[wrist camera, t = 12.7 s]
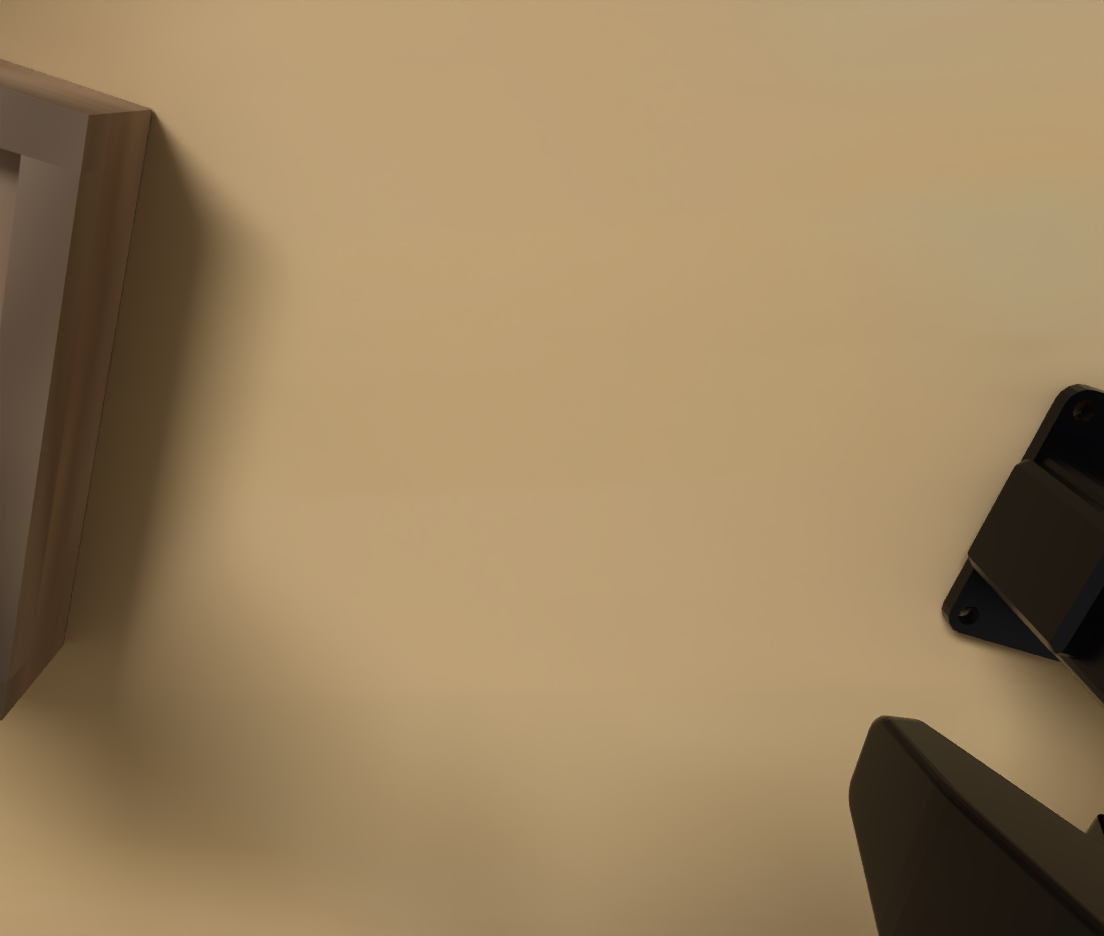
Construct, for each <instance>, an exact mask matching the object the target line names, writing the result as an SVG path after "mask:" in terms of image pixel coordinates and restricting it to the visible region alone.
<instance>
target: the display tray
mask: <svg viewBox="0 0 1104 936" xmlns="http://www.w3.org/2000/svg"><path fill="white" fill-rule="evenodd" d="M151 113H152V109H149V108H146V107H143V106H140V105H137V104H134V103H131V102H128V101H125V100H122V99H119V98H116V97H113V96H110V95H107V94H104V93H101V92H98V91H95V90H92V89H89V88H86V87H83V86H80V85H77V84H74V83H71V82H68V81H65V80H62V79H59V78H56V77H53V76H49V75H46V74H43V73H40V72H37V71H34V70H31V69H28V68H25V67H22V66H19V65H16V64H13V63H10V62H7V61H4V60H1V59H0V720H1V721H2V720H3V718H4V717H5V716H6V715H7V713H8V712H9V711H10V710H11V709H12V707H13V706H14V705H15V704H16V702H17V701H18V700H19V699H20V697H21V696H22V695H23V694H24V692H25V691H26V690H27V689H28V688H29V686H30V685H31V684H32V683H33V681H34V680H35V679H36V678H37V676H38V675H39V674H40V673H41V672H42V670H43V669H44V668H45V667H46V665H47V664H48V663H49V662H50V660H51V659H52V658H53V657H54V656H55V654H56V653H57V652H58V651H59V649H60V648H61V647H62V646H63V643H64V637H65V631H66V625H67V619H68V613H69V607H70V601H71V595H72V588H73V582H74V576H75V570H76V564H77V558H78V552H79V546H80V540H81V534H82V528H83V522H84V516H85V510H86V504H87V498H88V492H89V486H90V480H91V474H92V468H93V462H94V456H95V450H96V444H97V438H98V432H99V426H100V420H101V414H102V408H103V402H104V396H105V390H106V384H107V378H108V372H109V366H110V360H111V354H112V348H113V342H114V336H115V330H116V324H117V318H118V312H119V306H120V300H121V294H122V288H123V282H124V276H125V270H126V264H127V258H128V252H129V246H130V240H131V234H132V228H133V222H134V216H135V210H136V204H137V198H138V192H139V186H140V180H141V174H142V168H143V162H144V156H145V150H146V144H147V138H148V131H149V125H150V119H151Z"/></svg>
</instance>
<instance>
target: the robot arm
mask: <svg viewBox="0 0 1104 936" xmlns="http://www.w3.org/2000/svg"><path fill="white" fill-rule="evenodd" d="M1083 400H1086V406H1085V409H1084V410H1083V411H1082V412H1081V413H1080V414H1078V415H1075V416H1073V409H1074V407H1075V406H1076V405H1077V404H1078V403H1079V402H1081V401H1083ZM966 607H972V610H971V611H970V612H969V613H968V614H966V615H964V616H959V613H960V612H961V611H962V610H963V609H964V608H966ZM942 614H943V616H944V618H945V619H946V621H947V622H948V623H949V624H950V626H951V627H952V628H953V629H954V630H956V631H957V632H959V633H963V634H966V635H970V636H973V637H976V638H980V639H983V640H987V641H990V642H994V643H997V644H1001V645H1004V646H1008V647H1011V648H1014V649H1018V650H1021V651H1025V652H1028V653H1032V654H1035V655H1039V656H1042V657H1046V658H1049V659H1052V660H1056V661H1059V662H1062V663H1063V665H1064V666H1065V667H1066V668H1067V669H1068V670H1069V671H1070V672H1071V673H1072V674H1073V675H1074V677H1075V678H1076V679H1077V680H1078V681H1079V682H1080V683H1081V684H1082V685H1083V686H1084V687H1085V689H1086V690H1087V691H1088V692H1089V693H1090V694H1091V695H1092V696H1093V697H1094V698H1095V699H1096V701H1097V702H1098V703H1099V704H1100V705H1101V706H1102V707H1103V708H1104V391H1102V390H1099V389H1096V388H1093V387H1090V386H1087V385H1081V384H1076V385H1072V386H1069V387H1067V388H1066V389H1064V390H1063V391H1061V392H1060V394H1059V395H1058V396H1057V397H1056V399H1055V400H1054V402H1053V404H1052V406H1051V408H1050V409H1049V411H1048V413H1047V415H1046V417H1045V419H1044V420H1043V422H1042V424H1041V426H1040V428H1039V430H1038V431H1037V433H1036V435H1035V437H1034V439H1033V440H1032V442H1031V444H1030V446H1029V448H1028V450H1027V451H1026V453H1025V455H1024V457H1023V459H1022V461H1021V462H1020V463H1019V464H1017V465H1016V466H1015V467H1014V469H1013V471H1012V472H1011V474H1010V476H1009V478H1008V480H1007V481H1006V483H1005V485H1004V487H1003V489H1002V491H1001V492H1000V494H999V496H998V498H997V500H996V502H995V503H994V505H993V507H992V509H991V511H990V513H989V514H988V516H987V518H986V520H985V522H984V524H983V525H982V527H981V529H980V531H979V533H978V535H977V536H976V538H975V540H974V542H973V544H972V546H971V547H970V549H969V551H968V559H967V561H966V563H965V565H964V566H963V568H962V570H961V572H960V574H959V575H958V577H957V579H956V581H955V583H954V585H953V586H952V588H951V590H950V592H949V594H948V596H947V597H946V599H945V601H944V603H943V607H942ZM849 806H850V812H851V816H852V821H853V825H854V829H855V834H856V838H857V843H858V847H859V851H860V856H861V860H862V865H863V869H864V873H865V878H866V882H867V887H868V891H869V895H870V900H871V904H872V909H873V913H874V918H875V922H876V926H877V931H878V935H879V936H1104V815H1103V814H1099V815H1097V817H1096V818H1095V820H1094V821H1093V823H1092V824H1091V826H1090V827H1089V829H1088V830H1087V832H1086V833H1084V832H1082V831H1081V830H1079V829H1078V828H1076V827H1075V826H1073V825H1072V824H1071V823H1069V822H1068V821H1066V820H1065V819H1063V818H1062V817H1060V816H1059V815H1058V814H1056V813H1055V812H1053V811H1052V810H1050V809H1049V808H1047V807H1046V806H1044V805H1043V804H1042V803H1040V802H1039V801H1037V800H1036V799H1034V798H1033V797H1031V796H1030V795H1028V794H1027V793H1026V792H1024V791H1023V790H1021V789H1020V788H1018V787H1017V786H1015V785H1014V784H1012V783H1011V782H1010V781H1008V780H1007V779H1005V778H1004V777H1002V776H1001V775H999V774H998V773H997V772H995V771H994V770H992V769H991V768H989V767H988V766H986V765H985V764H983V763H982V762H981V761H979V760H978V759H976V758H975V757H973V756H972V755H970V754H969V753H967V752H966V751H965V750H963V749H962V748H960V747H959V746H957V745H956V744H954V743H953V742H951V741H950V740H949V739H947V738H946V737H944V736H943V735H941V734H940V733H938V732H937V731H936V730H934V729H933V728H931V727H930V726H928V725H927V724H925V723H924V722H922V721H920V720H916V719H911V718H902V717H893V716H881V717H879V718H877V719H875V720H874V722H873V723H872V724H871V727H870V729H869V731H868V734H867V737H866V739H865V742H864V745H863V748H862V751H861V753H860V756H859V759H858V762H857V765H856V767H855V770H854V773H853V776H852V779H851V782H850V788H849Z"/></svg>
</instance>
